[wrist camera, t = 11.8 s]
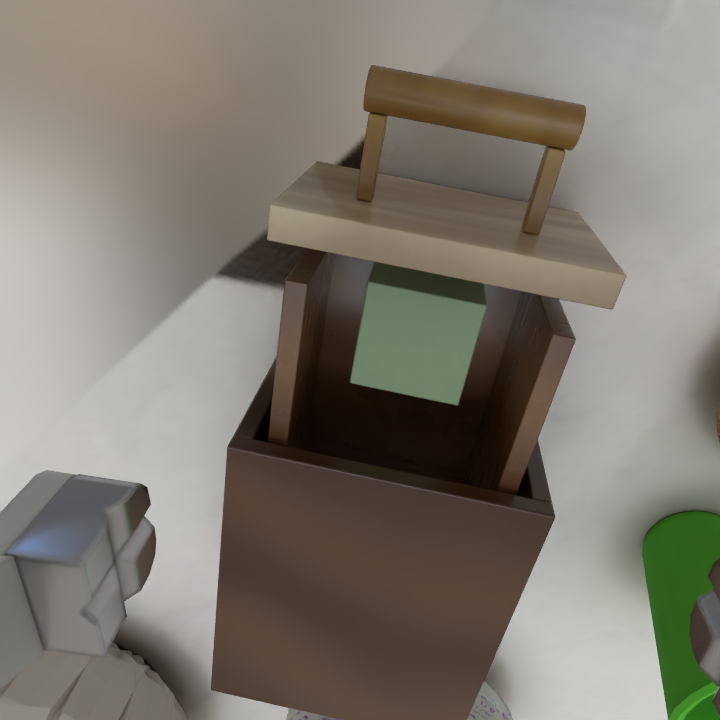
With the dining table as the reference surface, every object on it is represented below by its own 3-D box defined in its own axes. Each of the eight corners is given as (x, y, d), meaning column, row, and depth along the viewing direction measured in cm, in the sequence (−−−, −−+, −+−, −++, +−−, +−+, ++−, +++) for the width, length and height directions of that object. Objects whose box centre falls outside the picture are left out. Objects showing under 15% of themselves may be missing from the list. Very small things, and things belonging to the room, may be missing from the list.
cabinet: (286, 336, 31) (226, 446, 23) (526, 386, 31) (556, 517, 22) (262, 549, 39) (210, 690, 30) (454, 591, 38) (456, 747, 30)
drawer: (330, 50, 24) (283, 53, 17) (616, 104, 23) (686, 130, 16) (283, 431, 33) (240, 533, 26) (488, 474, 32) (499, 590, 26)
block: (362, 335, 28) (349, 383, 24) (379, 244, 26) (367, 281, 22) (456, 355, 28) (458, 406, 24) (481, 265, 26) (487, 305, 22)
